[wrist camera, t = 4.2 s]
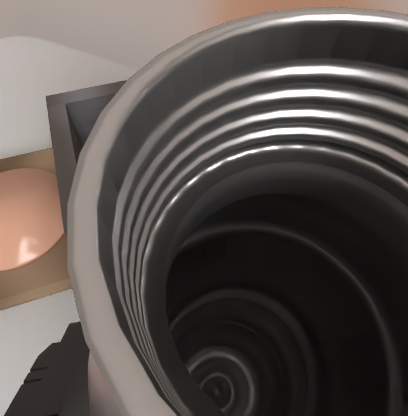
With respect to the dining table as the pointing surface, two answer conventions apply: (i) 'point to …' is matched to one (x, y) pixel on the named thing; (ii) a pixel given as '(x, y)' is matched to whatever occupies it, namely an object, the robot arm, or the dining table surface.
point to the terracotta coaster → (28, 216)
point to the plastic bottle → (250, 223)
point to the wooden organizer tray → (64, 170)
